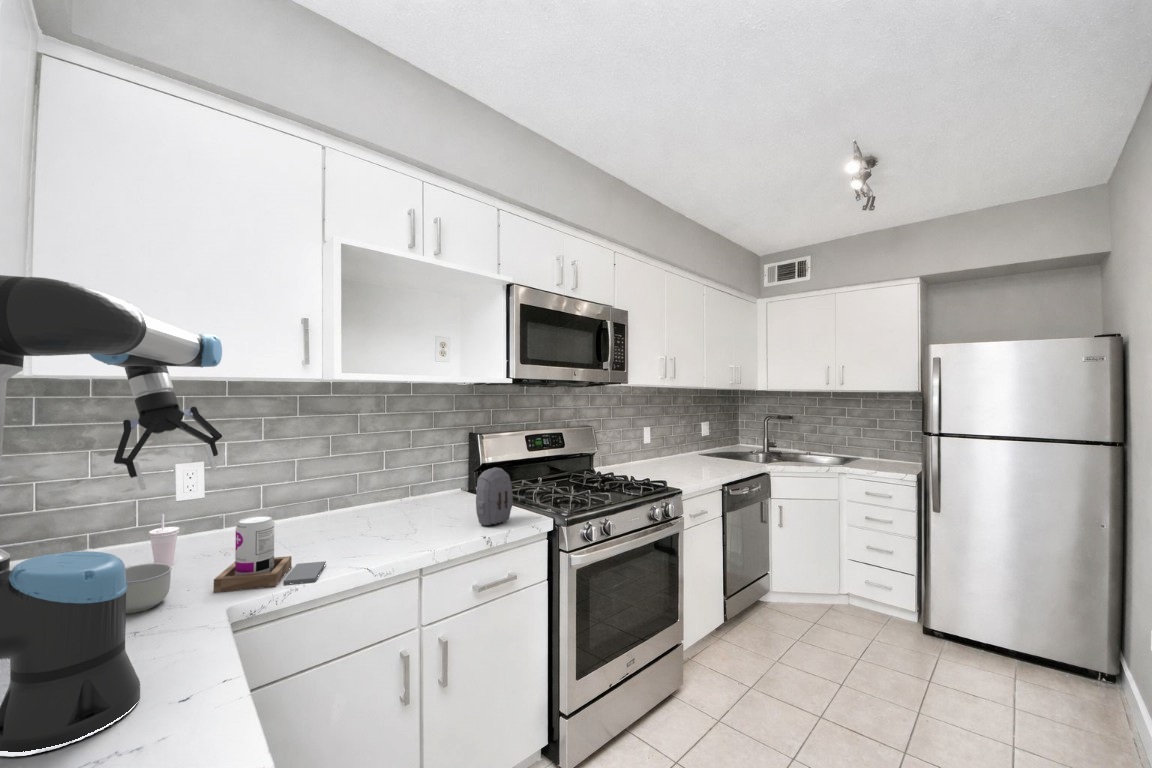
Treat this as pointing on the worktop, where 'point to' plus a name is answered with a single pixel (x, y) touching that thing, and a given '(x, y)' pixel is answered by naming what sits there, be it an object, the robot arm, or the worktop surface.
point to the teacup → (146, 585)
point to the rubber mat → (304, 572)
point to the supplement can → (254, 545)
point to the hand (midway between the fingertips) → (180, 479)
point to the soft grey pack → (493, 496)
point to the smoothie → (164, 543)
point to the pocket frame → (251, 577)
